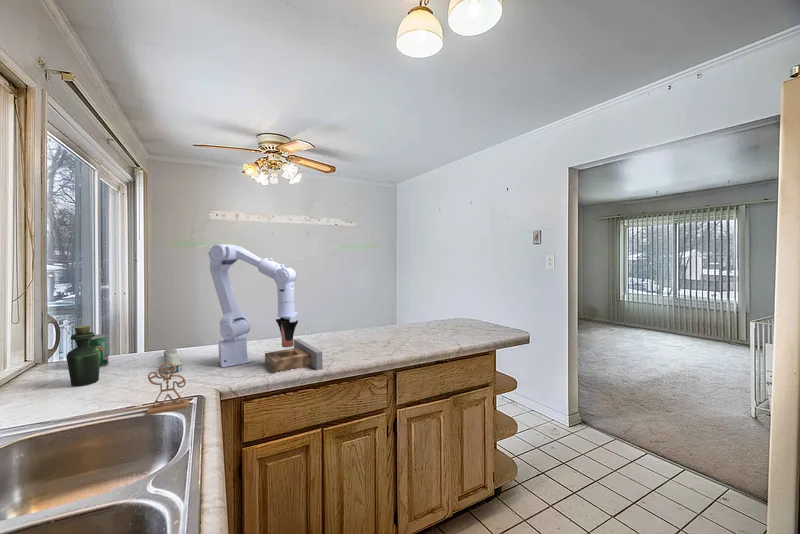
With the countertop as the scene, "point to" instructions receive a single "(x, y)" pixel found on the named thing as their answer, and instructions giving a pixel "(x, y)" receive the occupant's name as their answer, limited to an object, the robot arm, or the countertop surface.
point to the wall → (315, 353)
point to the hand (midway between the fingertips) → (287, 339)
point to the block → (287, 359)
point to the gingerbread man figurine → (167, 406)
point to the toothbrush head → (172, 359)
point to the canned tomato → (101, 347)
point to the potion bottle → (83, 358)
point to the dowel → (284, 342)
